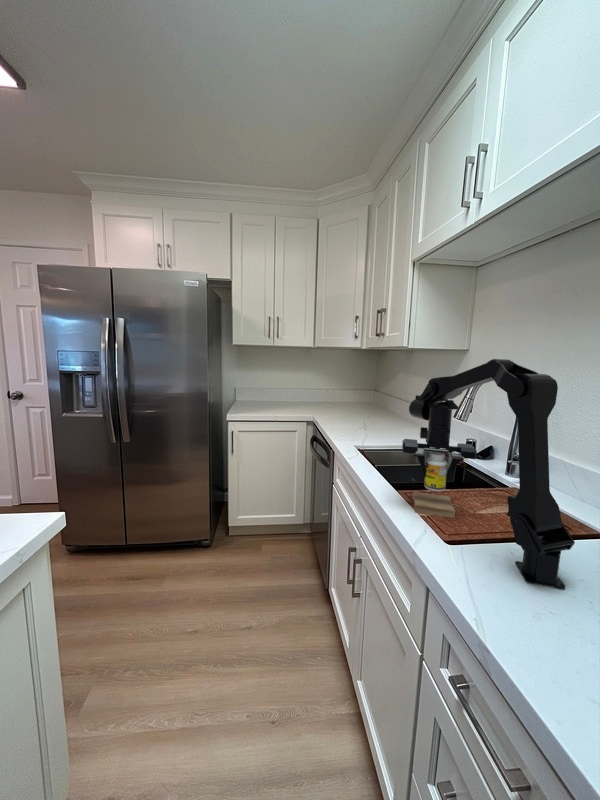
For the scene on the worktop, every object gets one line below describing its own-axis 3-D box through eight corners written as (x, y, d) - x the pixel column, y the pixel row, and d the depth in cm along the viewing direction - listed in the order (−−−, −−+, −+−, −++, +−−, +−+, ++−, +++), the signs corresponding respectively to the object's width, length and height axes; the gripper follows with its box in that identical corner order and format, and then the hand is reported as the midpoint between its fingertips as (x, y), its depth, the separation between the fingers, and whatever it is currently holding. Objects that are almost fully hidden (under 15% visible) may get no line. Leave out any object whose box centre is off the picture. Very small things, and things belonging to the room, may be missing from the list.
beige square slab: (454, 518, 89) (455, 511, 89) (415, 512, 92) (415, 505, 92) (448, 502, 99) (449, 496, 98) (413, 498, 101) (413, 491, 101)
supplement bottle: (419, 485, 96) (422, 451, 95) (435, 484, 98) (438, 449, 97) (432, 493, 91) (435, 456, 90) (449, 491, 93) (452, 455, 91)
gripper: (470, 421, 97) (465, 472, 99) (403, 416, 102) (400, 466, 104) (479, 428, 87) (474, 486, 89) (404, 423, 92) (400, 478, 94)
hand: (435, 478), depth 94 cm, fingers closed on supplement bottle, 6 cm apart
